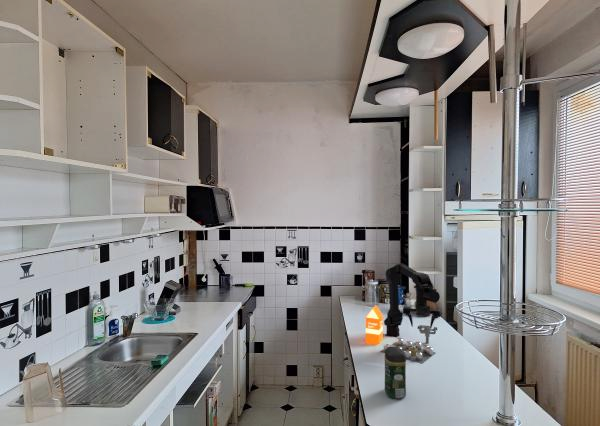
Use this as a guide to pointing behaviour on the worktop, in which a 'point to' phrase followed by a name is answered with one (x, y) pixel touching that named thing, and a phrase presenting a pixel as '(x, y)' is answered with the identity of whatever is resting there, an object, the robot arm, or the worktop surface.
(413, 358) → the mat
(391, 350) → the coffee jar
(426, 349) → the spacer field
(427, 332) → the mechanical component
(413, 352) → the nut
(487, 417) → the worktop surface
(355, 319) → the worktop surface
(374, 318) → the orange juice
